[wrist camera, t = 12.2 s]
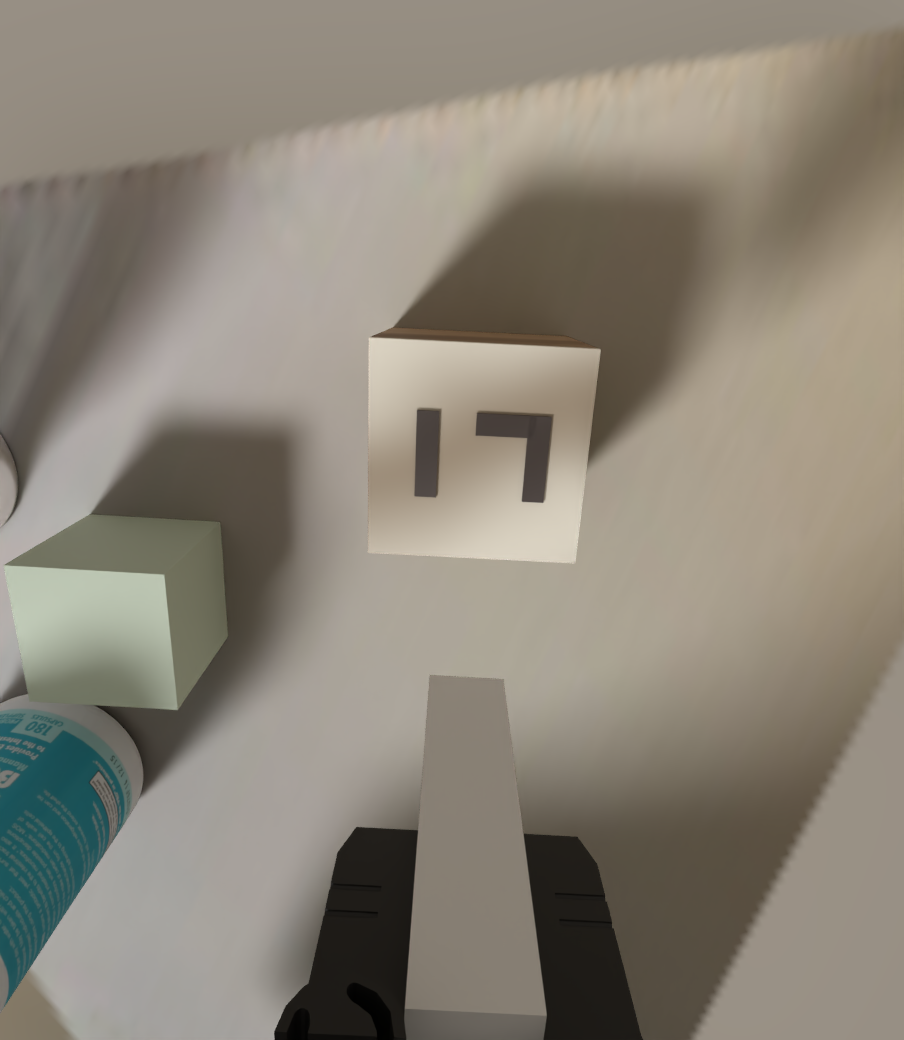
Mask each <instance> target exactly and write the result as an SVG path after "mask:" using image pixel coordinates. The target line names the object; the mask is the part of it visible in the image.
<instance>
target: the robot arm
mask: <svg viewBox="0 0 904 1040" xmlns="http://www.w3.org/2000/svg"><path fill="white" fill-rule="evenodd" d="M274 1035H275V1040H643V1039H642V1036H641V1033H640V1030H639V1026H638V1022H637V1018H636V1014H635V1010H634V1006H633V1002H632V999H631V995H630V991H629V987H628V983H627V979H626V975H625V971H624V967H623V963H622V960H621V956H620V952H619V948H618V944H617V940H616V936H615V932H614V929H612V921H611V917H610V913H609V909H608V905H607V902H605V893H604V889H603V885H602V882H601V878H600V874H599V870H598V866H597V863H596V862H595V861H594V859H593V858H592V856H591V855H590V854H589V852H588V851H587V850H586V848H585V847H584V845H583V844H582V843H581V841H580V840H579V839H578V837H570V836H551V835H533V834H523V827H522V819H521V811H520V804H519V796H518V788H517V780H516V773H515V765H514V757H513V750H512V742H511V734H510V726H509V719H508V711H507V703H506V695H505V688H504V680H503V679H492V678H474V677H456V676H438V675H430V678H429V691H428V705H427V718H426V731H425V745H424V758H423V772H422V785H421V798H420V812H419V825H418V830H400V829H381V828H362V827H356V829H355V830H354V831H353V833H352V834H351V835H350V837H349V838H348V839H347V841H346V842H345V843H344V845H343V846H342V847H341V849H340V850H339V851H338V853H337V858H336V863H335V867H334V872H333V876H332V881H331V888H330V890H329V894H328V899H327V903H326V908H325V915H324V917H323V921H322V926H321V930H320V935H319V939H318V944H317V948H316V953H315V957H314V962H313V966H312V971H311V975H310V980H309V984H307V985H305V986H304V987H303V988H302V989H301V990H300V991H299V992H298V993H297V994H296V996H295V997H294V998H293V999H292V1000H291V1001H290V1002H289V1003H288V1004H287V1005H286V1007H285V1009H284V1011H283V1013H282V1016H281V1018H280V1020H279V1022H278V1025H277V1027H276V1029H275V1031H274Z"/></svg>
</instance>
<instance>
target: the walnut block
mask: <svg viewBox="0 0 904 1040" xmlns="http://www.w3.org/2000/svg"><path fill="white" fill-rule="evenodd" d="M600 353H601V349H599V348H596V347H594V346H591V345H588V344H586V343H583V342H581V341H578V340H575V339H573V338H570V337H567V336H554V335H534V334H514V333H494V332H474V331H454V330H434V329H414V328H394V327H393V328H391V329H388V330H386V331H383V332H381V333H379V334H376V335H374V336H372V337H369V420H368V553H381V554H401V555H420V556H440V557H460V558H480V559H499V560H519V561H539V562H559V563H575V562H576V553H577V545H578V536H579V528H580V520H581V511H582V503H583V495H584V486H585V478H586V470H587V461H588V453H589V445H590V436H591V428H592V420H593V411H594V403H595V395H596V386H597V378H598V370H599V361H600Z"/></svg>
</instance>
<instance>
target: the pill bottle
mask: <svg viewBox="0 0 904 1040" xmlns="http://www.w3.org/2000/svg"><path fill="white" fill-rule="evenodd" d="M142 785H143V766H142V761H141V757H140V754H139V752H138V749H137V747H136V745H135V743H134V741H133V740H132V738H131V737H130V736H129V734H128V733H127V732H126V730H125V729H124V728H123V727H122V726H121V725H120V724H119V723H118V722H117V721H116V720H115V719H114V718H112V717H111V716H110V715H109V714H107V713H106V712H105V711H103V710H101V709H100V708H98V707H96V706H94V705H82V704H64V703H47V702H30V701H29V696H28V694H26V695H22V696H18V697H15V698H12V699H9V700H7V701H5V702H3V703H0V1013H1V1011H2V1010H3V1008H4V1007H5V1005H6V1003H7V1002H8V1000H9V999H10V997H11V996H12V994H13V993H14V991H15V990H16V988H17V987H18V985H19V984H20V982H21V981H22V979H23V978H24V976H25V974H26V973H27V971H28V970H29V968H30V967H31V965H32V964H33V962H34V961H35V959H36V958H37V956H38V954H39V953H40V951H41V950H42V948H43V947H44V945H45V944H46V942H47V941H48V939H49V938H50V936H51V934H52V933H53V931H54V930H55V928H56V927H57V925H58V924H59V922H60V921H61V919H62V918H63V916H64V915H65V913H66V911H67V910H68V908H69V907H70V905H71V904H72V902H73V901H74V899H75V898H76V896H77V895H78V893H79V892H80V890H81V889H82V887H83V886H84V884H85V883H86V881H87V880H88V878H89V877H90V875H91V874H92V872H93V871H94V869H95V867H96V866H97V864H98V863H99V861H100V860H101V858H102V857H103V855H104V854H105V852H106V851H107V849H108V848H109V846H110V845H111V843H112V842H113V840H114V839H115V837H116V836H117V834H118V832H119V831H120V829H121V828H122V826H123V825H124V823H125V822H126V820H127V819H128V817H129V815H130V814H131V812H132V811H133V809H134V807H135V806H136V804H137V801H138V799H139V797H140V794H141V791H142Z"/></svg>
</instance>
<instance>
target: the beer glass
mask: <svg viewBox="0 0 904 1040" xmlns="http://www.w3.org/2000/svg"><path fill="white" fill-rule="evenodd" d="M17 494H18V477H17V470H16V466H15V463H14V459H13V457H12V454H11V452H10V450H9V448H8V446H7V444H6V442H5V441H4V439H3V437H2V436H1V434H0V528H1V527H2V526H3V525H4V523H5V522H6V521H7V520H8V518H9V517H10V515H11V513H12V511H13V509H14V506H15V503H16V499H17Z"/></svg>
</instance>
